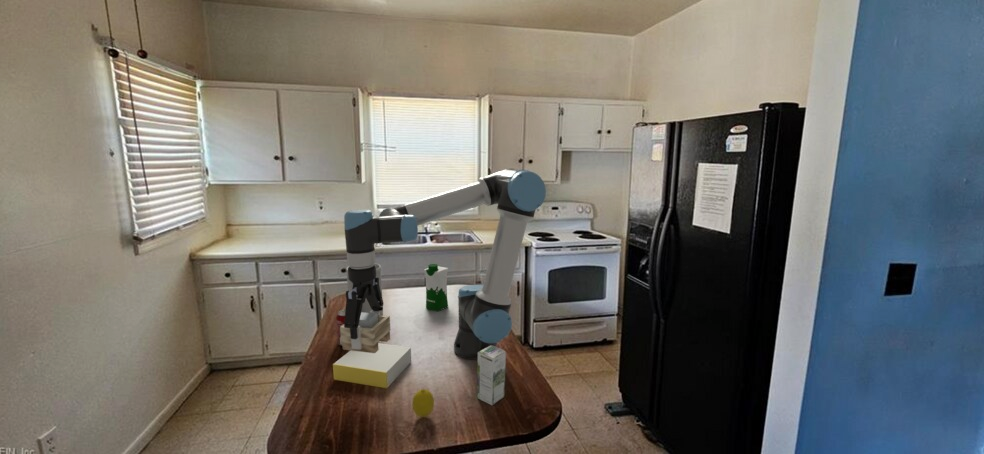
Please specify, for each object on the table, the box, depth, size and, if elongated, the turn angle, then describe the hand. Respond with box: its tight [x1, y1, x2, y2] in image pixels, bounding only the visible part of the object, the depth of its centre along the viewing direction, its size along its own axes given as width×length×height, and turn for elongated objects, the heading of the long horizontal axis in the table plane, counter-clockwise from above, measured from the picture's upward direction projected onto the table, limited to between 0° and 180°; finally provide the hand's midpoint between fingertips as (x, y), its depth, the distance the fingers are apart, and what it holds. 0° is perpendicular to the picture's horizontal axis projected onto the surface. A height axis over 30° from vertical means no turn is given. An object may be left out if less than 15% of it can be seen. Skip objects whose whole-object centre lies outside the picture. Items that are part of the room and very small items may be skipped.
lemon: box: [412, 388, 435, 418], centre depth 110 cm, size 6×6×8 cm
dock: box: [332, 342, 412, 389], centre depth 133 cm, size 18×16×5 cm
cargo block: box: [358, 312, 378, 328], centre depth 120 cm, size 5×5×4 cm
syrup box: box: [476, 345, 507, 406], centre depth 118 cm, size 6×6×14 cm
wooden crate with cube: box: [340, 314, 391, 353], centre depth 120 cm, size 10×10×7 cm
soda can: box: [335, 308, 346, 347], centre depth 151 cm, size 7×7×12 cm
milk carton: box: [423, 263, 449, 312], centre depth 185 cm, size 9×9×20 cm
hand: (366, 339), depth 121 cm, fingers closed on wooden crate with cube, 10 cm apart
